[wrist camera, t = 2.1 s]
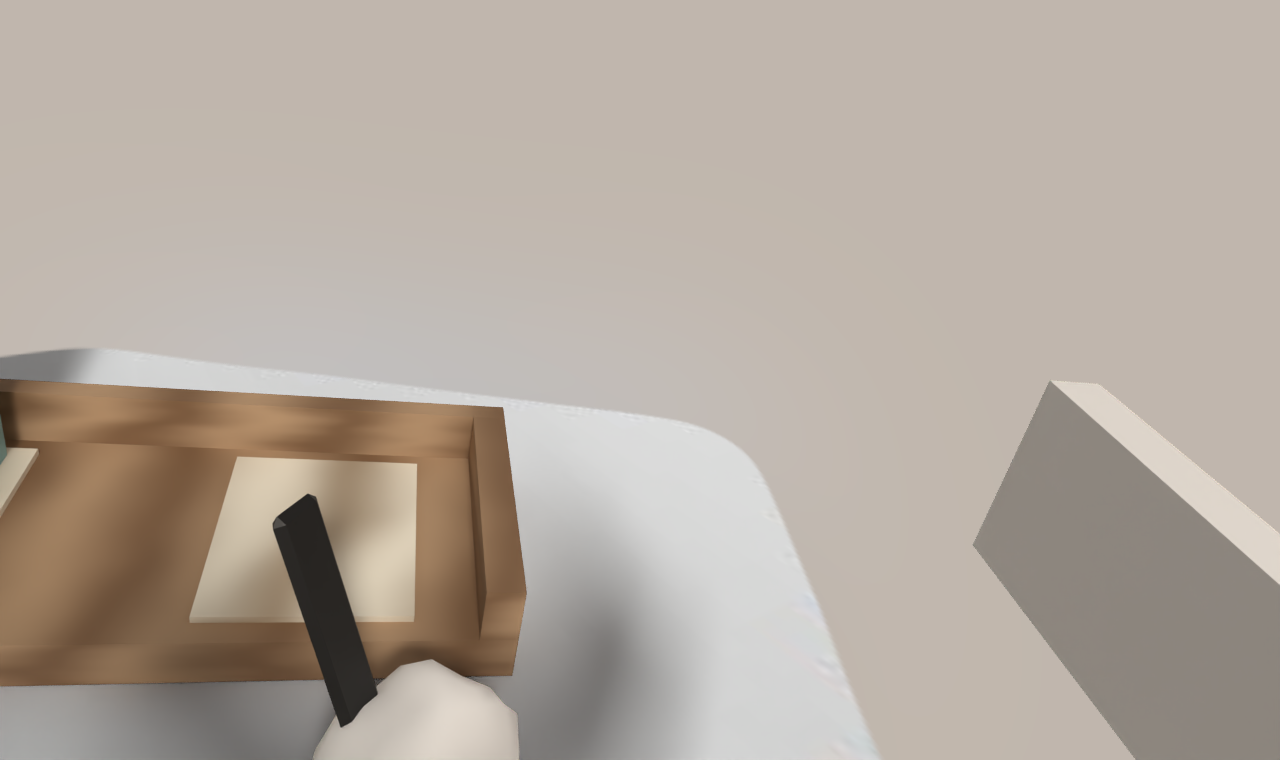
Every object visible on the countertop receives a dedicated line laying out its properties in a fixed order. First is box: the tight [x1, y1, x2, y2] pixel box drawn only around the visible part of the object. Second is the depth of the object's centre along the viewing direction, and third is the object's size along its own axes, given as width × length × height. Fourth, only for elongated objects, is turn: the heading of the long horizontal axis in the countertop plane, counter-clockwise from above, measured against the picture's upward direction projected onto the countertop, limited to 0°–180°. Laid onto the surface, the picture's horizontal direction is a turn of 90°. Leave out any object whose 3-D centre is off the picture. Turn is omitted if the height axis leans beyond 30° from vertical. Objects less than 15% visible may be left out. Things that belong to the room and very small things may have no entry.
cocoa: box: [272, 494, 519, 760], centre depth 27 cm, size 10×6×12 cm, turn 45°
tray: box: [0, 379, 527, 686], centre depth 37 cm, size 30×13×4 cm, turn 101°
